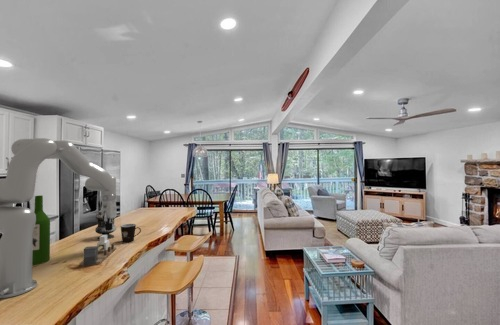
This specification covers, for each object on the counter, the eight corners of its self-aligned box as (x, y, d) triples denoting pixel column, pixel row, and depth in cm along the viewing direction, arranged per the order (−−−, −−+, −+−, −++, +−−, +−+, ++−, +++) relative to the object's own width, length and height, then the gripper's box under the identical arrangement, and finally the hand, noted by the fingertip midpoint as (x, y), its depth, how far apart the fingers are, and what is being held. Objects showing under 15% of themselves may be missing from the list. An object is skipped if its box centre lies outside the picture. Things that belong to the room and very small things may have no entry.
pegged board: (99, 264, 118) (99, 247, 118) (78, 265, 116) (79, 249, 116) (116, 248, 140) (116, 234, 140) (99, 249, 138) (99, 235, 138)
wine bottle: (21, 266, 116) (22, 197, 116) (32, 259, 124) (33, 195, 125) (43, 264, 118) (44, 196, 118) (53, 257, 127) (54, 194, 127)
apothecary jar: (107, 240, 155) (107, 212, 155) (90, 239, 157) (90, 211, 157) (120, 235, 167) (120, 208, 167) (104, 234, 169) (104, 208, 169)
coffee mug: (117, 242, 152) (117, 226, 152) (129, 238, 160) (129, 223, 160) (129, 245, 147) (129, 228, 147) (141, 241, 154) (142, 225, 154)
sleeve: (106, 251, 131) (106, 236, 131) (97, 251, 130) (97, 237, 130) (109, 247, 136) (109, 234, 136) (100, 248, 135) (101, 234, 135)
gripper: (110, 199, 133) (111, 233, 133) (120, 195, 148) (120, 226, 148) (95, 200, 132) (96, 234, 132) (106, 196, 146) (106, 226, 147)
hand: (108, 229), depth 140 cm, fingers closed
